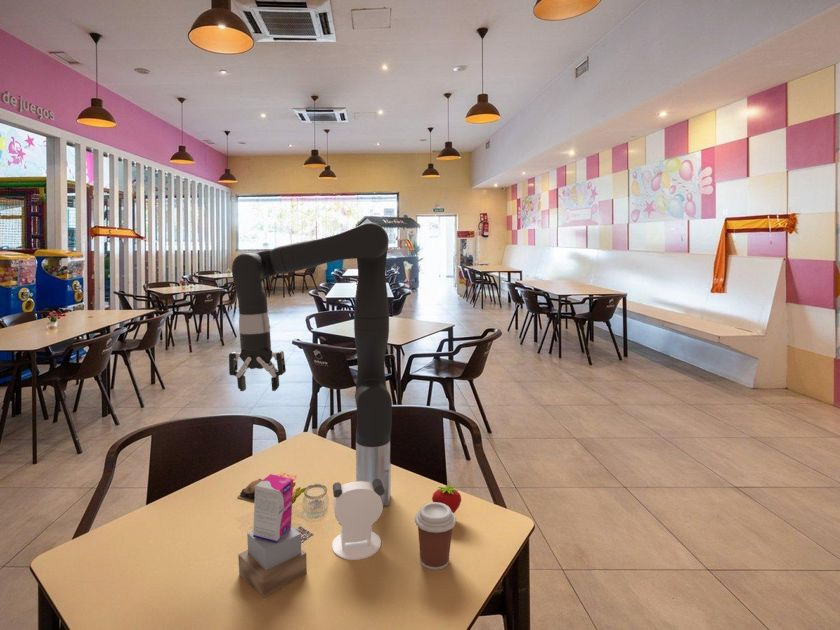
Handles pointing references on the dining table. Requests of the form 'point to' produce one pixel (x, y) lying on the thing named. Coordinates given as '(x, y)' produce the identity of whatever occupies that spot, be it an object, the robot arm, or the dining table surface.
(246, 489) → the brown flat rounded lump
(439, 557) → the coffee cup
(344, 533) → the panda figurine
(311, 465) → the dining table surface
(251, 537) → the grey top block
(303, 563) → the walnut base block
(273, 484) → the supplement box
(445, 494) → the strawberry
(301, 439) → the dining table surface
